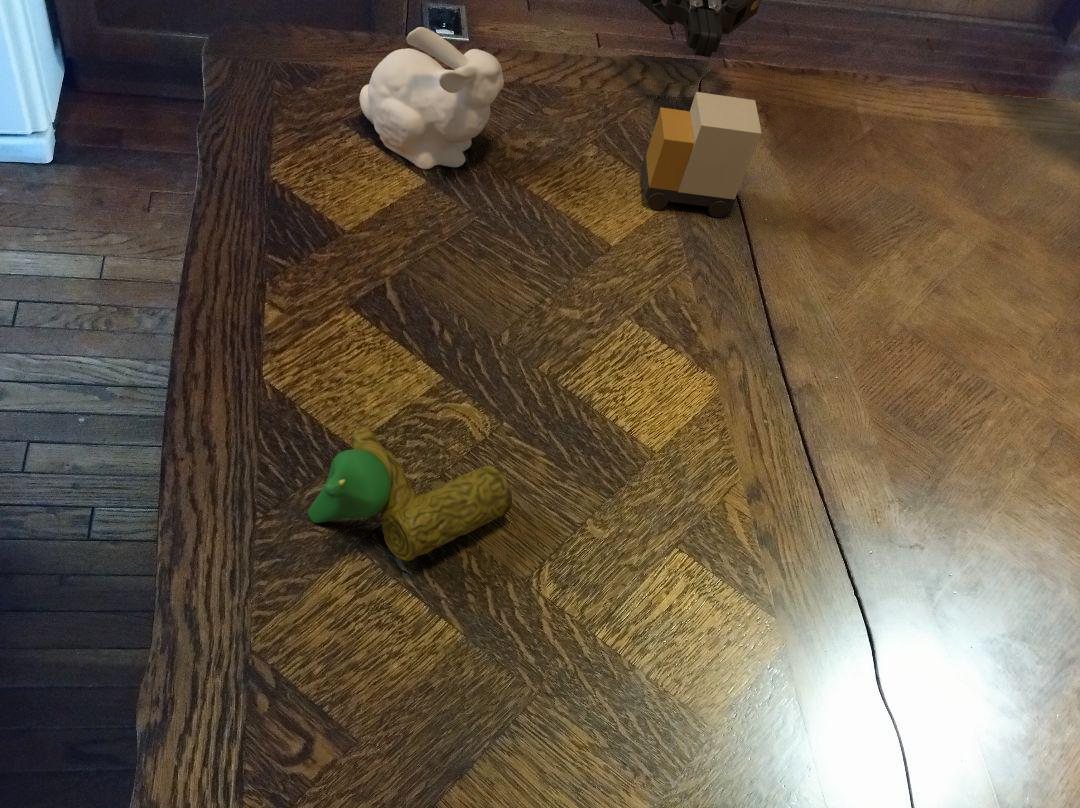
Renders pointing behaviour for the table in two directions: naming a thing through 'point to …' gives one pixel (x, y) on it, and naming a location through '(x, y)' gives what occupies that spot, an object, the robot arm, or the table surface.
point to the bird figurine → (407, 498)
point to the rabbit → (431, 99)
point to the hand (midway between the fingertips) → (706, 46)
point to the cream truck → (701, 153)
